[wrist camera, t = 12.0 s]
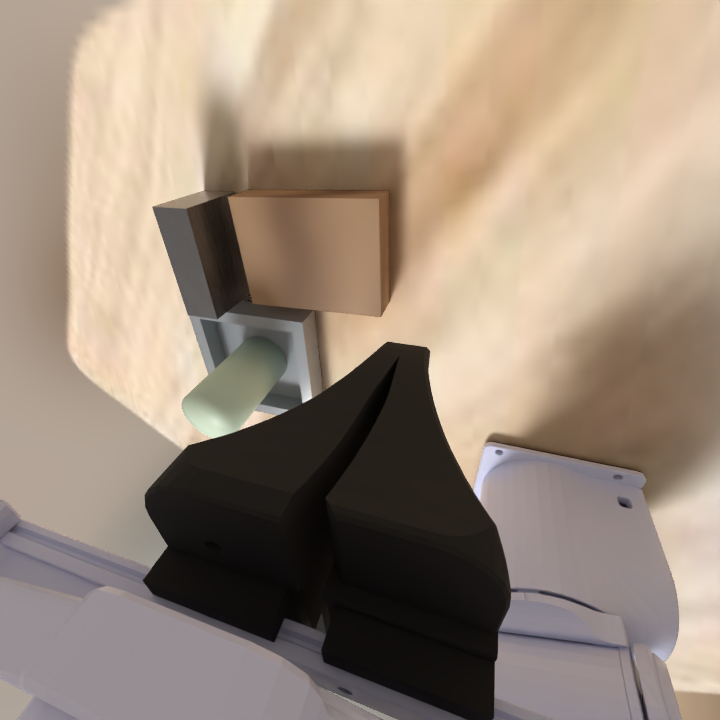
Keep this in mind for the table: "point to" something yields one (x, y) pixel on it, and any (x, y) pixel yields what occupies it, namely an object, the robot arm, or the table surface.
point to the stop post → (204, 252)
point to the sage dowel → (235, 387)
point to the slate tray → (279, 326)
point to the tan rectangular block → (315, 248)
